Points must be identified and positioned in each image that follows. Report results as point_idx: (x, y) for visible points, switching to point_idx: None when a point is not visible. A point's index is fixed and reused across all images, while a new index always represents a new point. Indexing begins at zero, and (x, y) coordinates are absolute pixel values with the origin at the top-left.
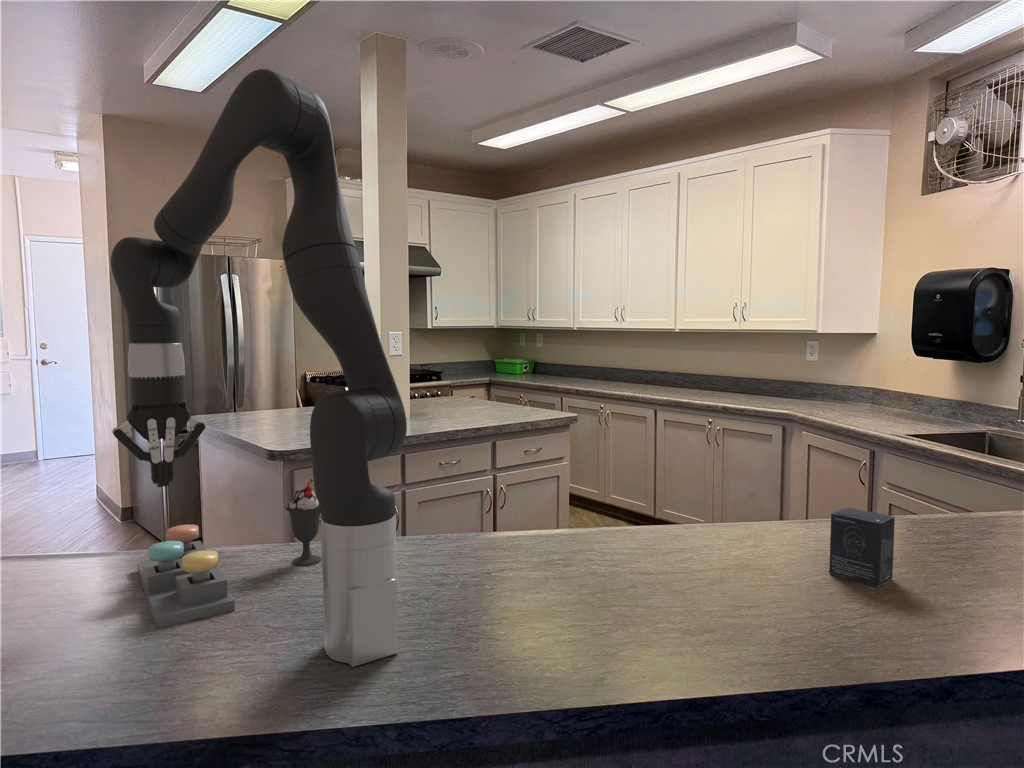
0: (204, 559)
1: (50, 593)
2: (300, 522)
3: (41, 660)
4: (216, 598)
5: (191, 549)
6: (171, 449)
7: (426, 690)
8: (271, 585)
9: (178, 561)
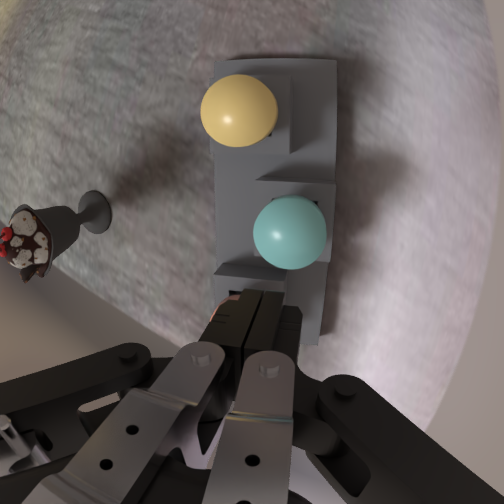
0: (232, 81)
1: (433, 319)
2: (53, 213)
3: (471, 74)
4: None
5: None
6: (164, 386)
7: None
8: (151, 138)
9: None
